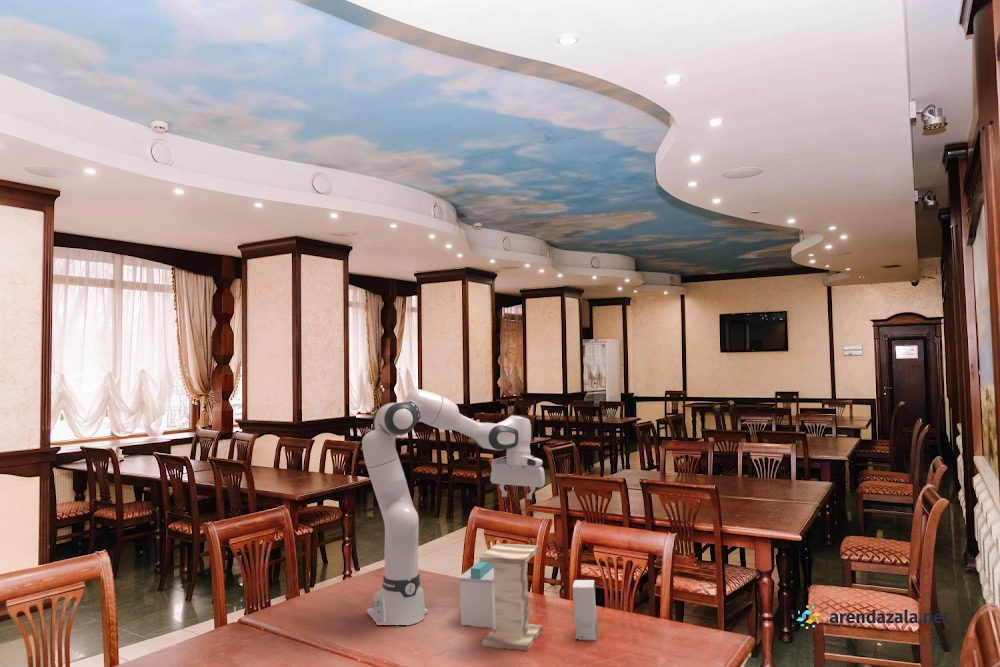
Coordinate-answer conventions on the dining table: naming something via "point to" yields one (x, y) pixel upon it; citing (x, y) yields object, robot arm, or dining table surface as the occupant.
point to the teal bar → (481, 569)
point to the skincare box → (584, 610)
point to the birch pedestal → (511, 597)
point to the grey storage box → (477, 600)
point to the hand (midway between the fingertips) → (516, 497)
